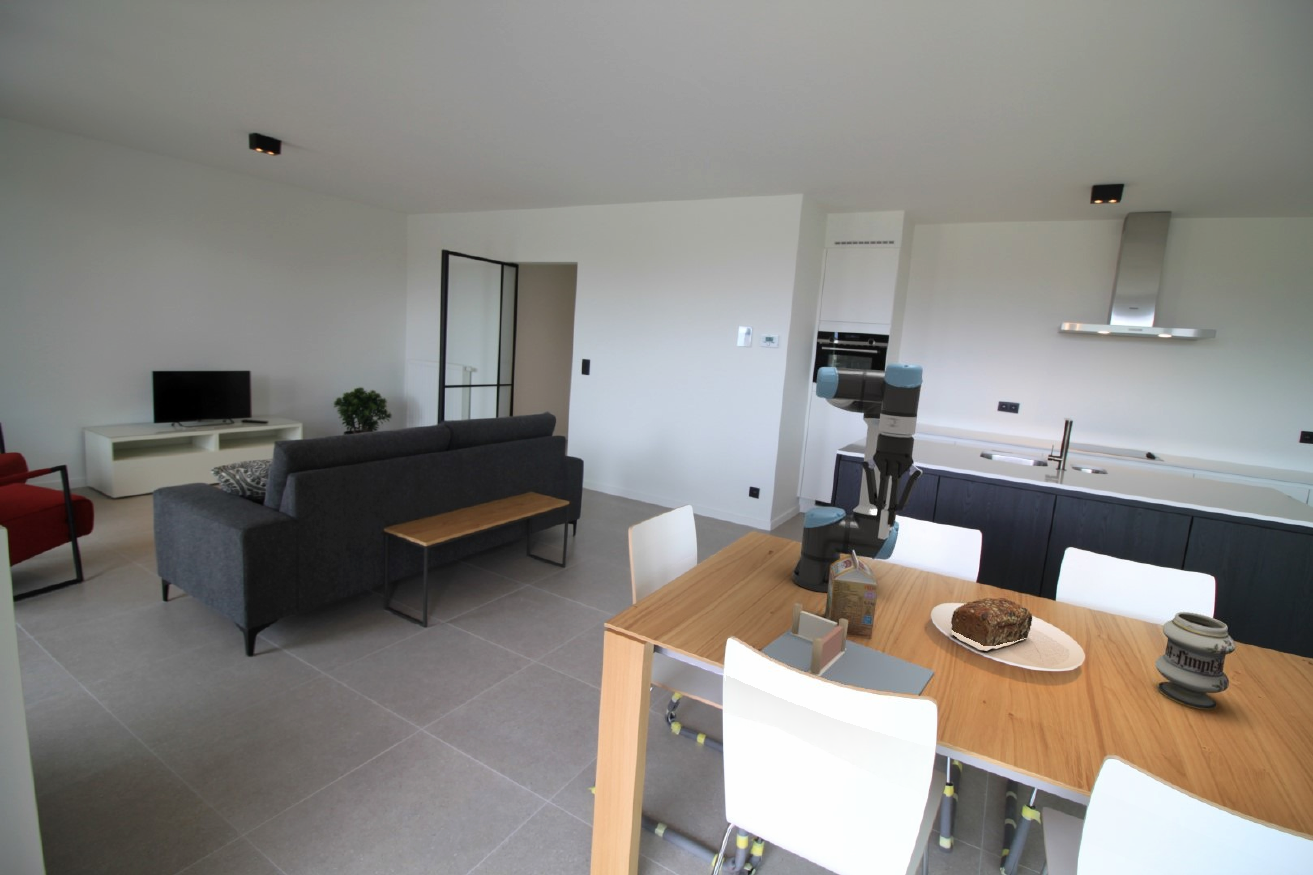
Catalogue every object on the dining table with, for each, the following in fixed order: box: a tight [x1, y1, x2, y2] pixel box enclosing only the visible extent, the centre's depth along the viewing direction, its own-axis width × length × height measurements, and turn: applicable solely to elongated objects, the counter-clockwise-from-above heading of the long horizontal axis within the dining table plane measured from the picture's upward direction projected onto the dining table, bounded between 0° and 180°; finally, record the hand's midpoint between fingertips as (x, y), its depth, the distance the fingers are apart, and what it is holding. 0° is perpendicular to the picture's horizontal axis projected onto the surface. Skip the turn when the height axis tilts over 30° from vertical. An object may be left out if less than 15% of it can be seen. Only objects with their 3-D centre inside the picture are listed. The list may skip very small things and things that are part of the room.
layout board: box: [760, 627, 935, 696], centre depth 136 cm, size 22×33×1 cm, turn 51°
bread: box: [950, 597, 1033, 646], centre depth 153 cm, size 19×11×10 cm, turn 118°
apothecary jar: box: [1155, 611, 1236, 711], centre depth 130 cm, size 12×12×18 cm
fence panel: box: [810, 625, 843, 674], centre depth 135 cm, size 14×2×7 cm, turn 141°
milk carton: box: [824, 550, 879, 639], centre depth 155 cm, size 11×11×19 cm
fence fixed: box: [790, 602, 848, 651], centre depth 145 cm, size 2×14×7 cm, turn 52°
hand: (883, 537), depth 135 cm, fingers closed
